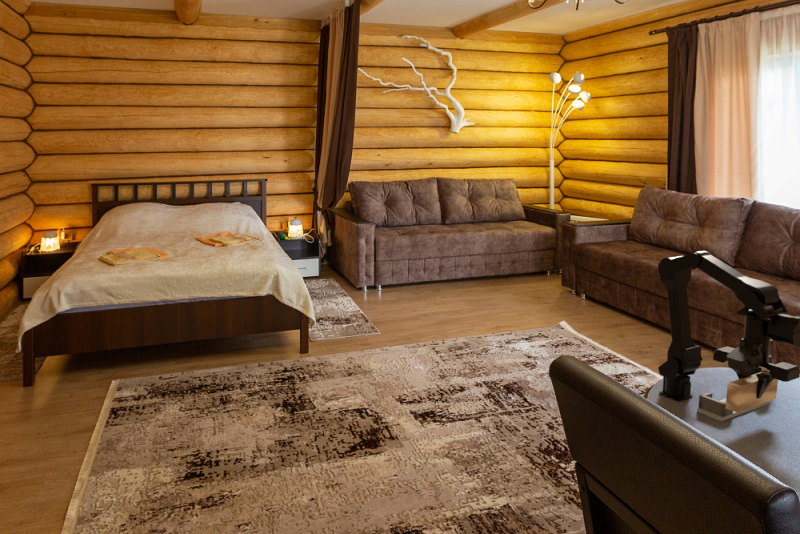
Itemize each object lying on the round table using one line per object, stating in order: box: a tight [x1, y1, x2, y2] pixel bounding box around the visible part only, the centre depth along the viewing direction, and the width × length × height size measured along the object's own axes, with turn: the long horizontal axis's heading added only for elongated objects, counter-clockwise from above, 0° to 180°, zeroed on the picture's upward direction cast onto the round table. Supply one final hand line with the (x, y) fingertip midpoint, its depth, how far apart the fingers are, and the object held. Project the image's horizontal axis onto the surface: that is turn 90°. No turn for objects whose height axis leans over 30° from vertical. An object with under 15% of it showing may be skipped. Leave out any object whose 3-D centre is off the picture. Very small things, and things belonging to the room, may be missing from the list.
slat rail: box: [696, 391, 772, 422], centre depth 166 cm, size 7×21×4 cm, turn 119°
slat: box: [725, 372, 779, 412], centre depth 154 cm, size 3×16×6 cm, turn 119°
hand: (751, 395), depth 155 cm, fingers closed on slat, 3 cm apart
